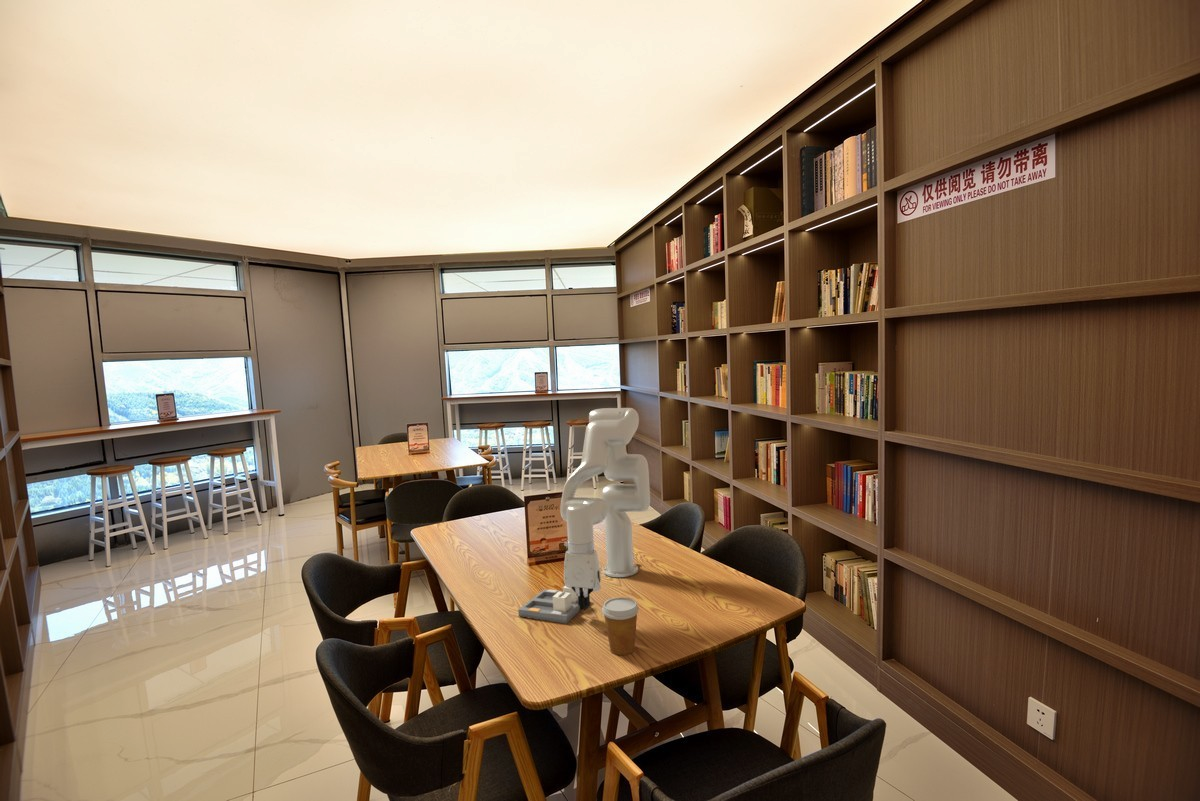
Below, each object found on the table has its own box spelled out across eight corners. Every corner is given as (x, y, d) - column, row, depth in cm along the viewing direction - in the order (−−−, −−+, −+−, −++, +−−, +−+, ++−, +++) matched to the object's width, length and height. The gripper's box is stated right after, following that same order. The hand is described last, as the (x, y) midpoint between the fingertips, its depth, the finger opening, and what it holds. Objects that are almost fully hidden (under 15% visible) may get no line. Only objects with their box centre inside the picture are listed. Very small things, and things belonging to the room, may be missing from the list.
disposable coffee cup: (646, 644, 144) (644, 600, 143) (630, 662, 136) (627, 614, 135) (615, 637, 149) (613, 594, 148) (597, 653, 141) (594, 607, 140)
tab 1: (559, 607, 167) (558, 590, 166) (571, 609, 165) (570, 591, 165) (553, 613, 163) (552, 595, 163) (565, 614, 161) (564, 597, 161)
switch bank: (544, 595, 180) (543, 588, 179) (589, 601, 173) (588, 593, 173) (518, 616, 165) (518, 608, 165) (566, 623, 159) (566, 615, 159)
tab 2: (569, 598, 173) (568, 581, 173) (580, 599, 172) (579, 583, 171) (563, 603, 170) (562, 586, 169) (575, 605, 168) (574, 588, 168)
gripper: (552, 548, 160) (555, 610, 161) (599, 552, 154) (603, 617, 155) (563, 541, 167) (567, 600, 168) (609, 544, 161) (612, 606, 162)
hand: (584, 608), depth 161 cm, fingers closed
